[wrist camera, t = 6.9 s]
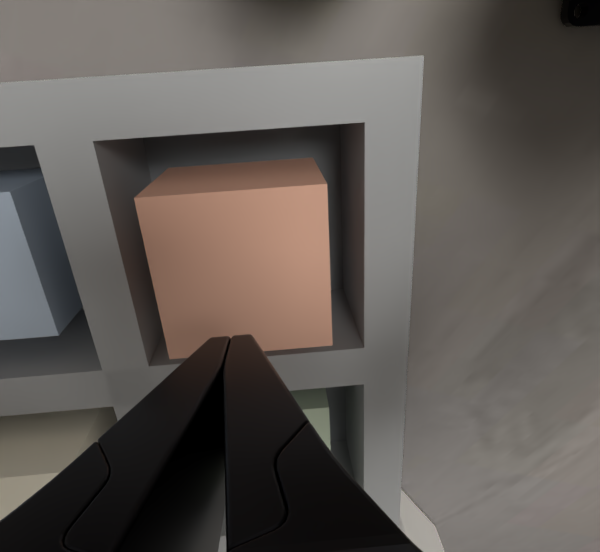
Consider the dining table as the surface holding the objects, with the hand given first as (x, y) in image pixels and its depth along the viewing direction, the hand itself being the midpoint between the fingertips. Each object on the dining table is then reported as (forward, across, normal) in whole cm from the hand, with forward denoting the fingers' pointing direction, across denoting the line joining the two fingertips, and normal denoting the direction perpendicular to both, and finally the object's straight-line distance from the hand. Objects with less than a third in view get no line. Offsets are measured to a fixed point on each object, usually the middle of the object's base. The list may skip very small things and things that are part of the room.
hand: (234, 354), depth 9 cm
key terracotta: (+8, 0, 0) cm, 8 cm away
